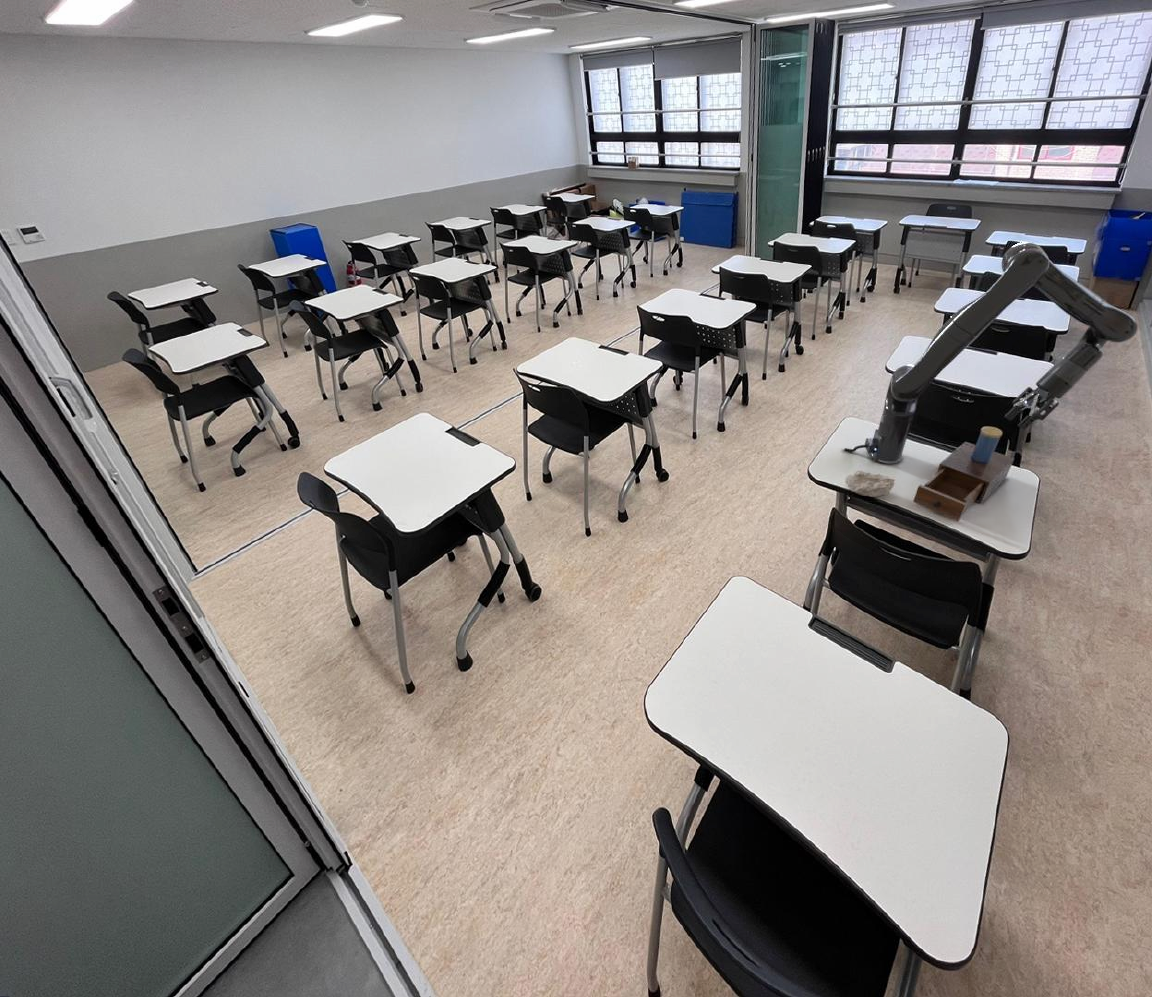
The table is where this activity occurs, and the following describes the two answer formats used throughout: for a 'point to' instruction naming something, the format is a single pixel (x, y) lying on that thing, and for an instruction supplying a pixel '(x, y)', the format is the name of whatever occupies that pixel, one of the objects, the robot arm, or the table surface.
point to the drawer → (949, 493)
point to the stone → (869, 484)
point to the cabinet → (978, 468)
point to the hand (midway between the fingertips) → (1013, 423)
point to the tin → (986, 444)
